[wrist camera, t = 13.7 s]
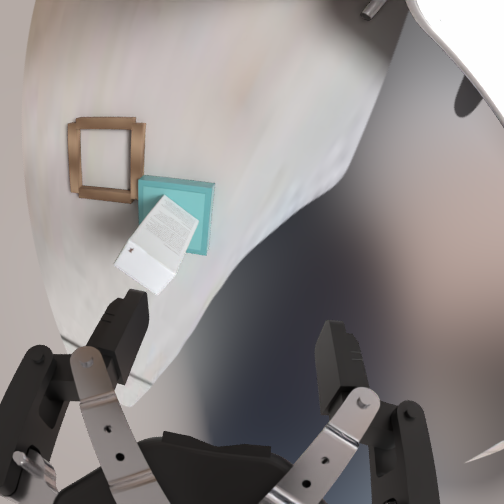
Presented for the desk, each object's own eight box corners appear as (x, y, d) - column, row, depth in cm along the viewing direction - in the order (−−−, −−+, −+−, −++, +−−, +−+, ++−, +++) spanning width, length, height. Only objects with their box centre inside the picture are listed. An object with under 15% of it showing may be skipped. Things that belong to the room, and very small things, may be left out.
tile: (143, 174, 39) (137, 179, 37) (215, 183, 39) (212, 188, 37) (144, 238, 44) (139, 245, 42) (208, 248, 44) (206, 256, 42)
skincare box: (148, 215, 40) (110, 264, 29) (164, 193, 38) (127, 237, 28) (183, 242, 41) (157, 297, 31) (201, 221, 40) (177, 274, 29)
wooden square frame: (72, 117, 34) (67, 118, 33) (146, 117, 35) (142, 118, 34) (75, 193, 40) (71, 196, 39) (143, 201, 41) (140, 205, 40)
